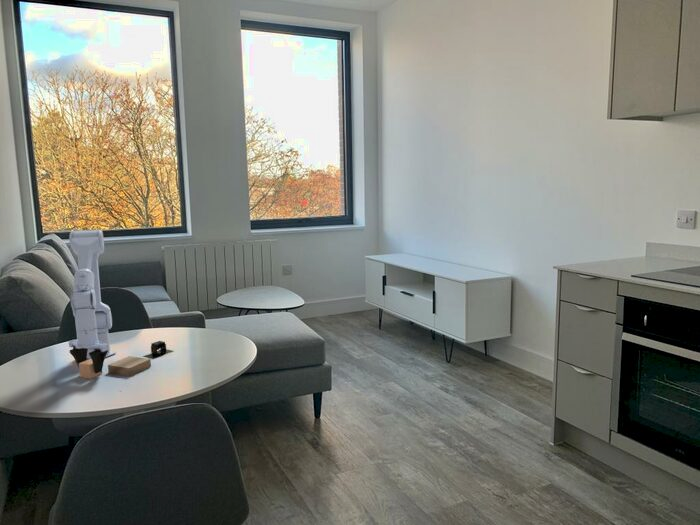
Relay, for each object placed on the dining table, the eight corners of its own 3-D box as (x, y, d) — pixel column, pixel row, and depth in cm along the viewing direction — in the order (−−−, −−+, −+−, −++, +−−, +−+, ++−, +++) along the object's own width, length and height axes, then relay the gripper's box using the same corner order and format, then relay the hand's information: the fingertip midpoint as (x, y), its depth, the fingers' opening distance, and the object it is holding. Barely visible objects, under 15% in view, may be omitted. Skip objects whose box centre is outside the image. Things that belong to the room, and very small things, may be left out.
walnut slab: (108, 374, 172) (107, 364, 171) (130, 364, 180) (129, 356, 179) (130, 377, 168) (129, 368, 168) (151, 367, 176) (150, 359, 176)
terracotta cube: (80, 377, 168) (78, 363, 168) (92, 372, 173) (90, 358, 172) (90, 378, 167) (89, 364, 166) (102, 373, 171) (101, 360, 170)
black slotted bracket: (150, 362, 182) (149, 349, 182) (137, 358, 186) (136, 345, 185) (180, 351, 193) (179, 339, 192) (166, 348, 197) (165, 336, 196)
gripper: (58, 330, 166) (63, 372, 169) (93, 334, 161) (97, 378, 163) (77, 324, 173) (82, 365, 175) (111, 328, 167) (115, 370, 169)
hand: (90, 370), depth 169 cm, fingers open, 6 cm apart
